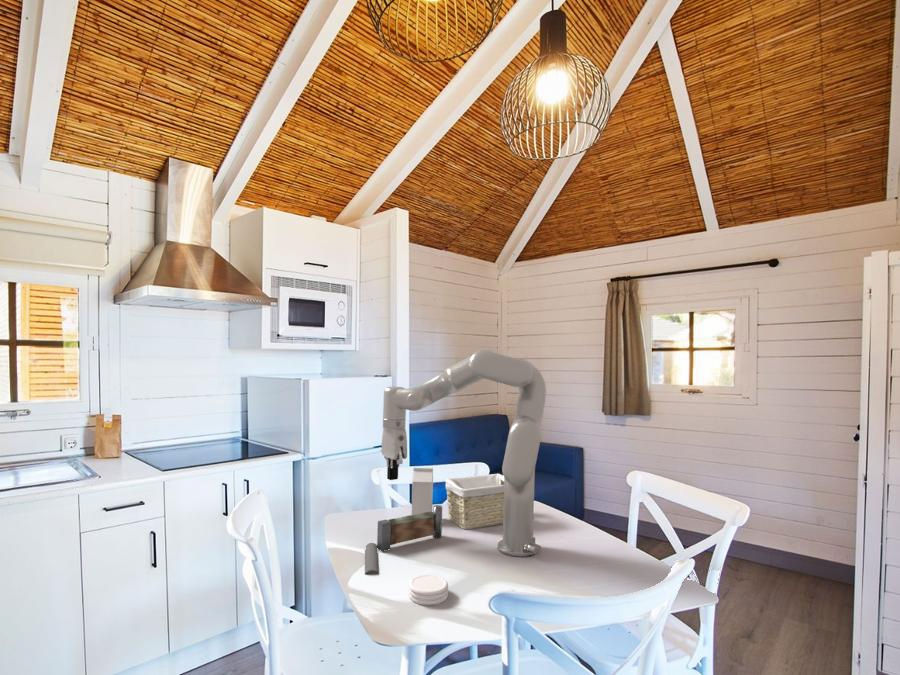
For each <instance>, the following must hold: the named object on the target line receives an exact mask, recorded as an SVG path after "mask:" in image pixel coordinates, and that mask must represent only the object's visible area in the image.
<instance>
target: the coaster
mask: <svg viewBox="0 0 900 675" xmlns="http://www.w3.org/2000/svg"><path fill="white" fill-rule="evenodd" d="M408 584H409V585H408V587H409V588H408V597H409V599H410V600H411V601H412V602H413V603H414V604H418V605H419V606H436V605H440V604H442V603H444V602H446V600H447V599H448V597H449V593H448V592H449V582H448V581H447V580H446V579H445V578H444V577H442V576H439V575H435V574H420V575H418V576H415V577H413V578H412V579H411V580H410V581H409V583H408Z"/></svg>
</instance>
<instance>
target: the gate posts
mask: <svg viewBox="0 0 900 675" xmlns="http://www.w3.org/2000/svg"><path fill="white" fill-rule="evenodd" d="M432 512H434V535H432V538H433V539H441V538H442V537H443V536H442V533H443V531H442V530H443V506H442V505H440V504H436V505H432ZM376 535H377V536H376V539H377V541H376V542H377V544H376V545H377V548H378V549H379V550H378V551H380V550H381V551H383V552H385V551H384V550H388V549H390V550H391V545H390V540H391V522H390V521H389V519H381V520H377V534H376ZM381 551H380V552H381ZM388 551H389V550H388Z"/></svg>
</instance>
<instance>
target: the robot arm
mask: <svg viewBox="0 0 900 675" xmlns="http://www.w3.org/2000/svg"><path fill="white" fill-rule="evenodd" d="M484 379H486V380H489V381H491V382H496V383H500V384H503V385H507V386H510V387H514V388H518V392H519V393H518V397H517V398H518V399H517V402H516V403H517V404H516V411H515V415H514V418H513V422H512V423H511V426H510V428H509V431H508V436H507V441H506V447H505V452H504V456H503V457H504V458H503V461H502V466H501V470H502V475H503V476H504V483H503V485H504V506H503V524H502V539H501V540H500V541H498V542H497V549H498V551H500V552H501V553H502V554H505V555H508V556H511V557H529V555H531V556H533V554H534V555H536V554H538V552H539V550H540V549H541V545H540V544H538V543H536V537H535V536H534V514H535V513H534V511H535V510H534V506H535V505H534V503H535V502H534V500H535V476H536V475H535V474H536V472H535V471H536V464H537V460H538V453H539V449H540V445H541V444H540V443H541V438H542V421H543V417H544V416H543V415H544V410H545V406H546V405H545V404H546V397H547V395H546V394H547V388H546V383H545V382H546V381H545V380H544V377H543V375H542V373H541V372H540V370H539V369H538V368H537V367H536V366H535V365H534V364H533V363H531V362H530V361H529V360H526V359H523V358H522V359H521V358H519V359H518V358H516V357H515V358H514V357H511V356H507V355H503V354H500V353H496V352H493V351H492V350H491V349H479V350H477V351H475V352H474V353H473V354H472V355H470V356H468V357H466V358H464V359H462V360H461V361H459V362H456V363H454V364H453V365H450V366H449V367H447V368H446V369H444V370H443V372H442V373H440V374H438V376H436V377H434V378H432V379H430V380H428V381H427V382H424V383H422V384H420V385H419V386H415V387H410V388H405V387H402V386H387V387H385V388H384V390H383V408H382V409H383V411H382V412H383V413H382V429H383V430H382V437H381V454H382V456H383V458H384V459H385V461H386V467H387V468H386V469H387V471H386V472H387V474H386V476H387V479H388V480H390V481H395V480H398V479H399V468H400V465H402V464H403V460H405V459H407V457H408V438H407V430H406V420H407V419H406V418H407V417H406V415H407V413H406V412H407V411H414V412H415V411H416V412H418V411H420V410H423V409H424V408H427V407H429V406H430V405H433V404H434V403H436V402H437V401H438V402H439V401H441V400H442V399H444V398H446V397H448V396H450V395H452V394H456V393H458V392H461V391H462V390H464V389H467V388H468V387H470V386H472V385H475V383H478V382H480V381H481V380H484ZM387 479H386V480H387Z"/></svg>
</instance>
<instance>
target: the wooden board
mask: <svg viewBox="0 0 900 675" xmlns="http://www.w3.org/2000/svg"><path fill="white" fill-rule="evenodd" d="M388 521H390V522H391V540H390V546H393V545H396V544H400V543H406V542H409V541H413V540H417V539H423V538H426V537H429V536H433V535H434V512H433V510H432V511H430V512H425V513H420V514H414V515H412V514H410V515H406V516H405V515H404V516H399V517H396V518H391V519H390V518H389V519H388Z"/></svg>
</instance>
